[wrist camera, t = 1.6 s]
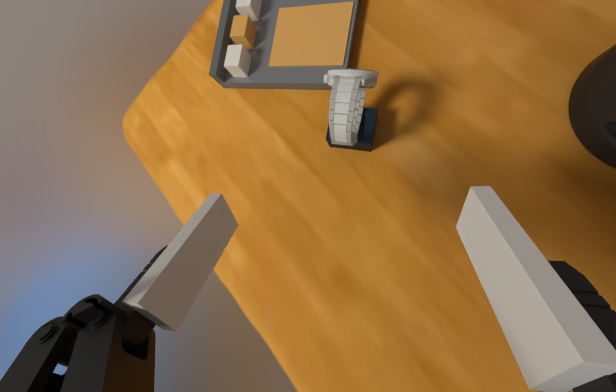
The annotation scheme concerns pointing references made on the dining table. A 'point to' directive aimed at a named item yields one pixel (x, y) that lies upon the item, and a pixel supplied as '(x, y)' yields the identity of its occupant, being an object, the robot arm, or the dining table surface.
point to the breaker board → (282, 43)
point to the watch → (350, 109)
